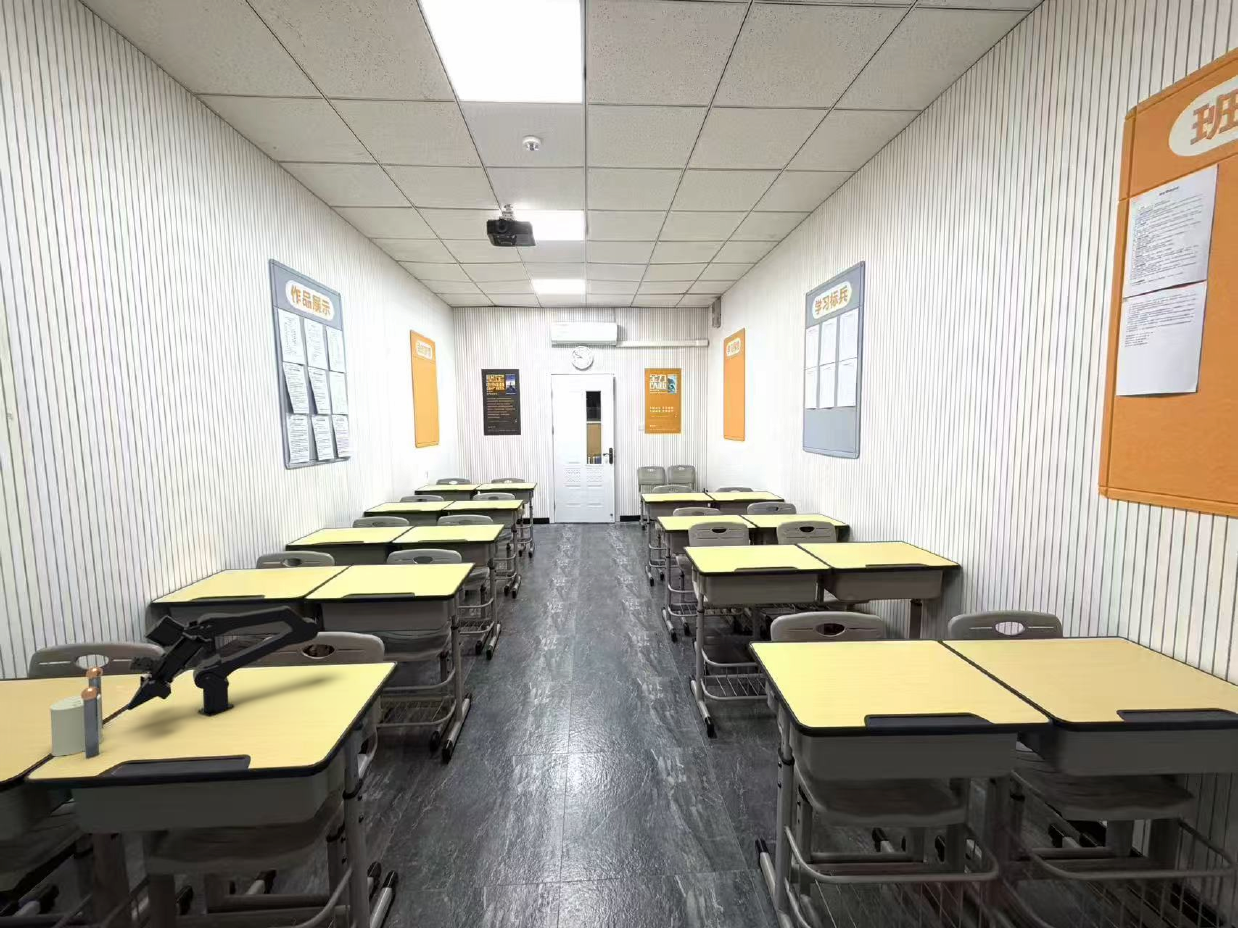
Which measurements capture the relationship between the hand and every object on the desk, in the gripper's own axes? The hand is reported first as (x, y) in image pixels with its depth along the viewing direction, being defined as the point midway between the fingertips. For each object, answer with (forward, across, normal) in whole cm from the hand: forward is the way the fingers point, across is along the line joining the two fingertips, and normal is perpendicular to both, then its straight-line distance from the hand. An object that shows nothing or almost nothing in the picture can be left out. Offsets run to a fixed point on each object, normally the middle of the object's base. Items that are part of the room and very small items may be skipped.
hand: (128, 709), depth 143 cm
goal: (+9, 0, 0) cm, 9 cm away
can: (+11, 0, -2) cm, 12 cm away
